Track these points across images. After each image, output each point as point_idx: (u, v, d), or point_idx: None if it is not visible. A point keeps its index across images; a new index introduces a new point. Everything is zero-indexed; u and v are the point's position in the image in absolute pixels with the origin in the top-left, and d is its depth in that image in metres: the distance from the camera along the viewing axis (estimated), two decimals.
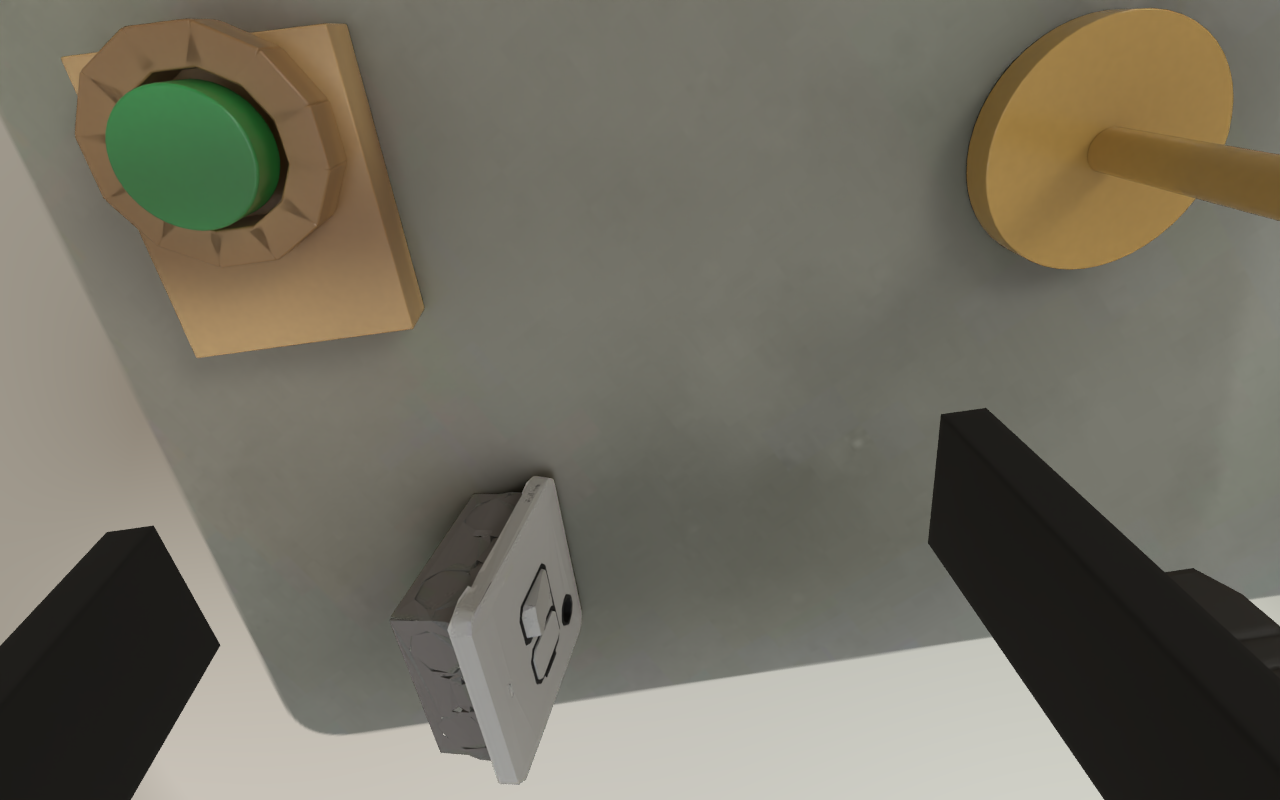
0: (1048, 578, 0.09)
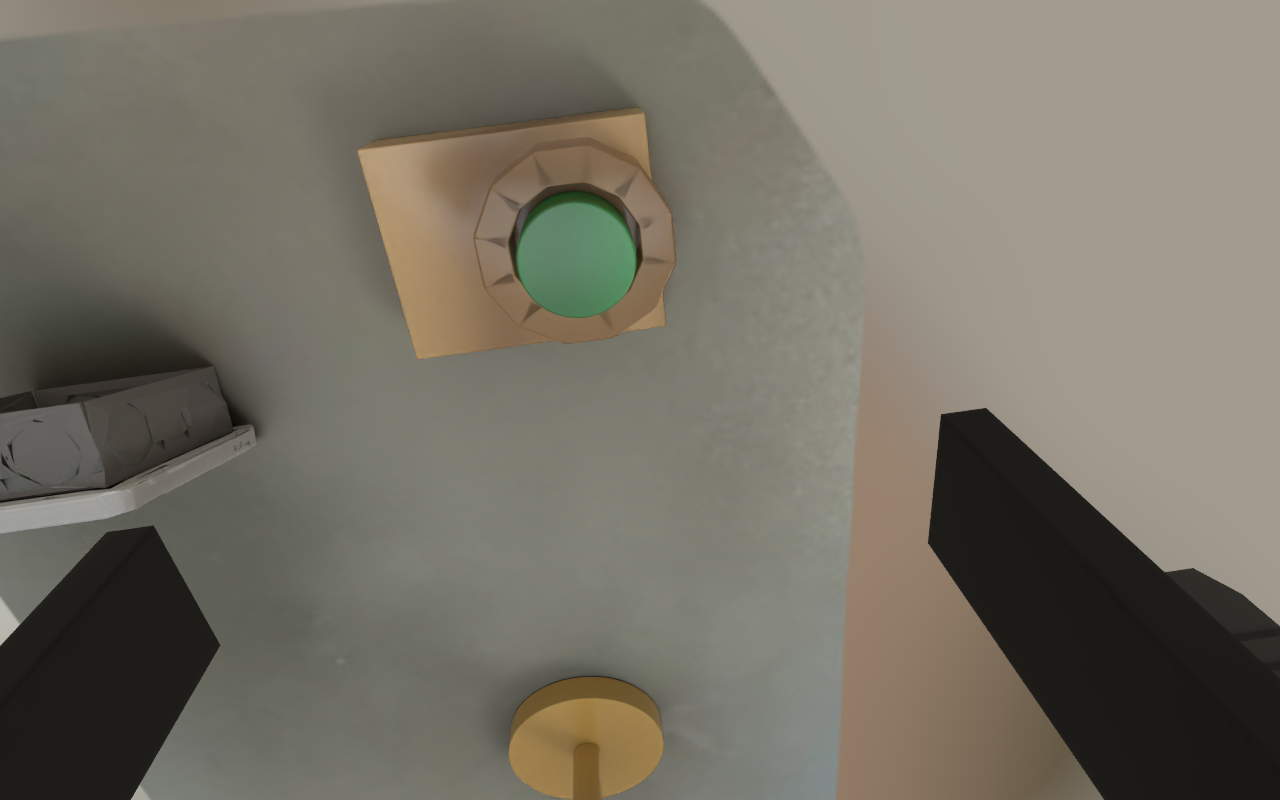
0: (1048, 578, 0.09)
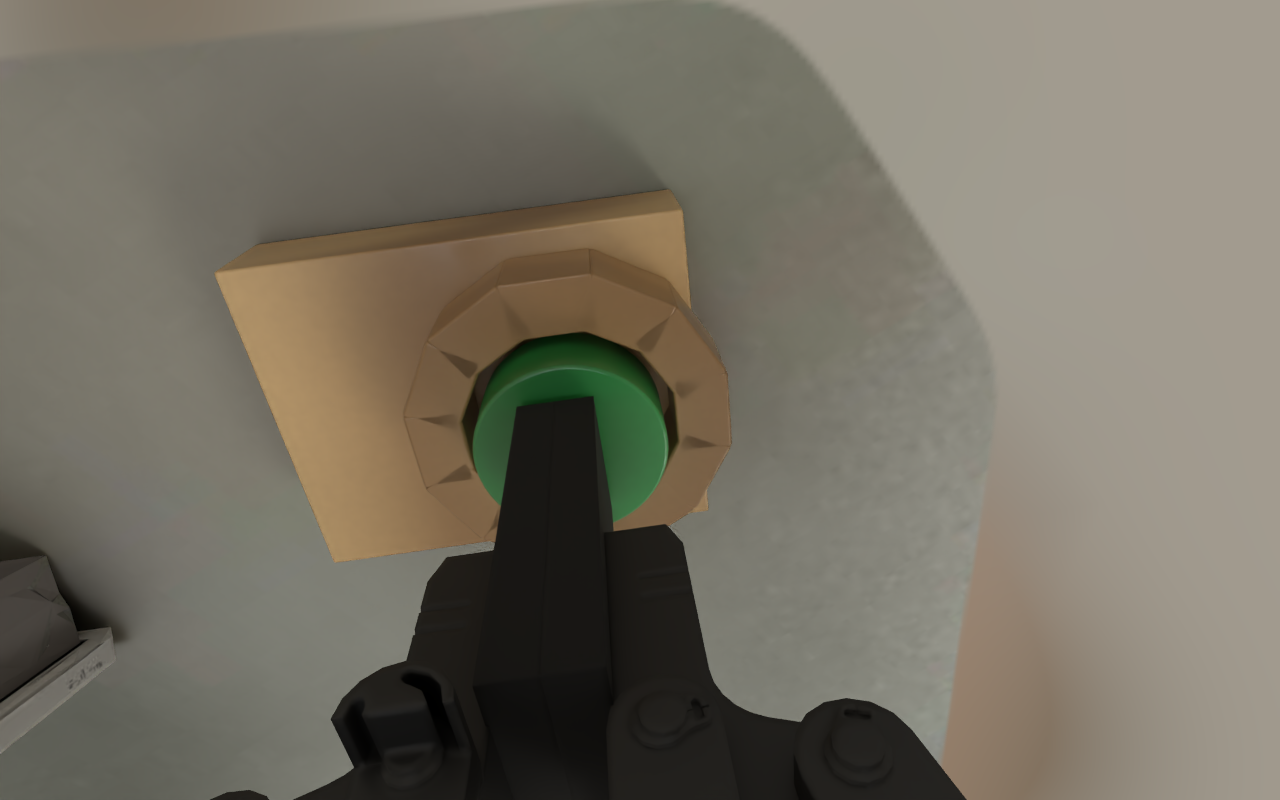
0: None
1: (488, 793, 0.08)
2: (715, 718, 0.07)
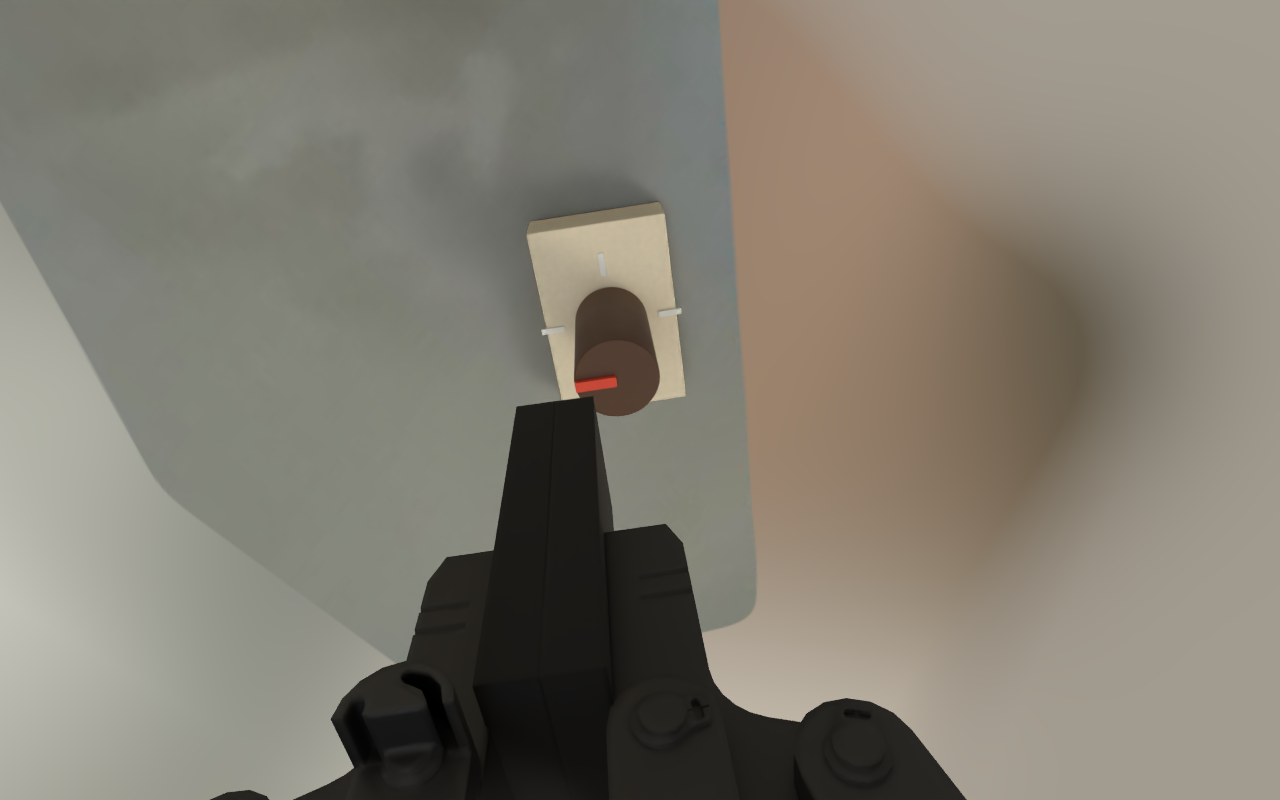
0: None
1: (488, 793, 0.08)
2: (715, 718, 0.07)
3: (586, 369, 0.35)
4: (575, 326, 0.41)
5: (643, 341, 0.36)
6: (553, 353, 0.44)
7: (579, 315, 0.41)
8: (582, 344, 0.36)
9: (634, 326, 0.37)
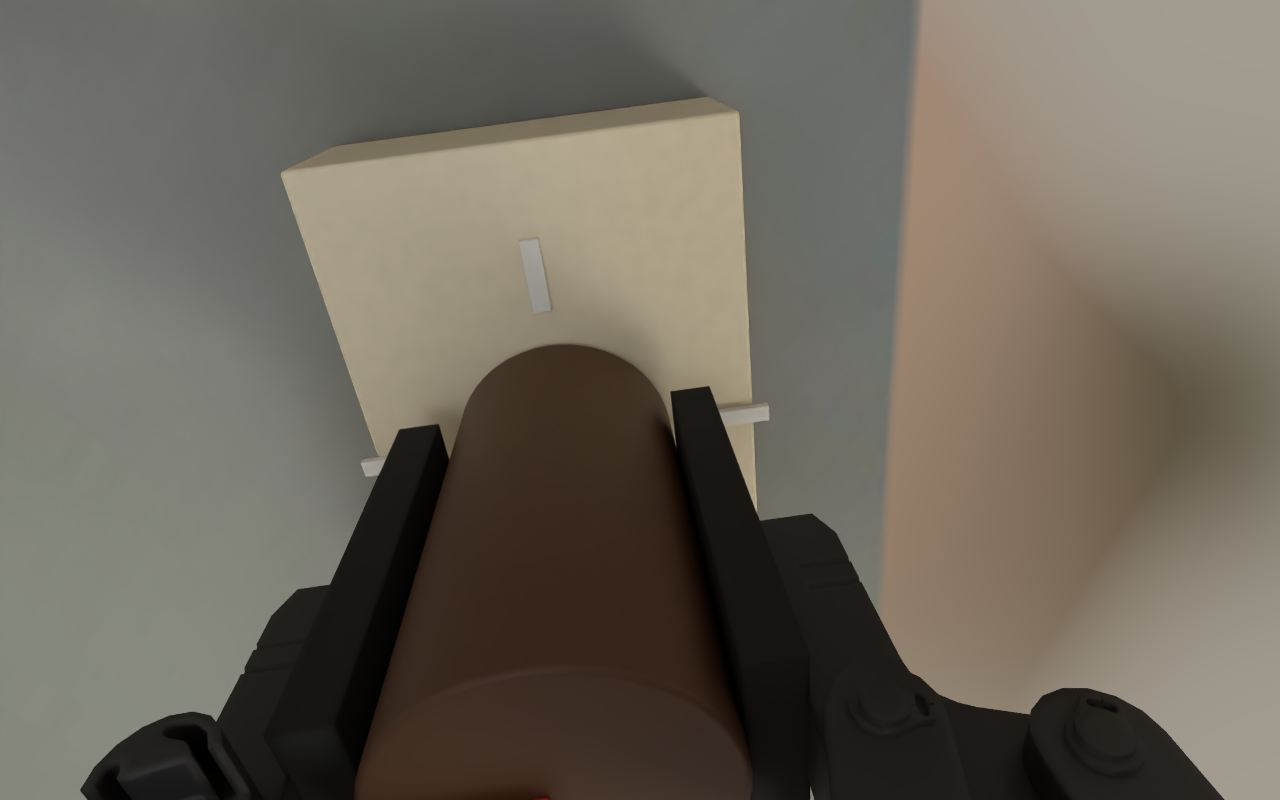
0: (698, 522, 0.11)
1: None
2: (940, 717, 0.07)
3: (408, 783, 0.07)
4: None
5: (681, 632, 0.08)
6: None
7: (458, 438, 0.13)
8: (410, 630, 0.08)
9: (640, 539, 0.09)
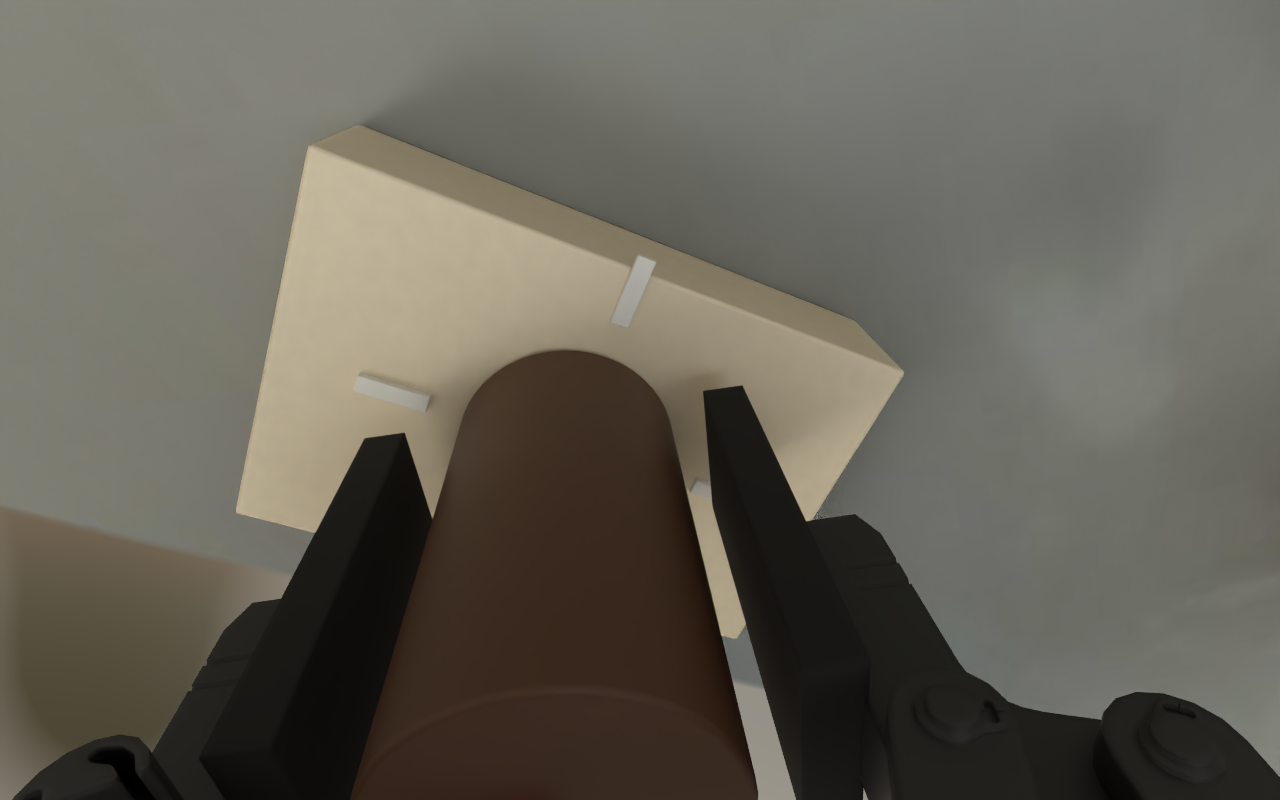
0: (739, 523, 0.11)
1: None
2: (1010, 726, 0.07)
3: None
4: None
5: (683, 649, 0.08)
6: (559, 246, 0.13)
7: (456, 446, 0.12)
8: (405, 646, 0.08)
9: (641, 553, 0.09)
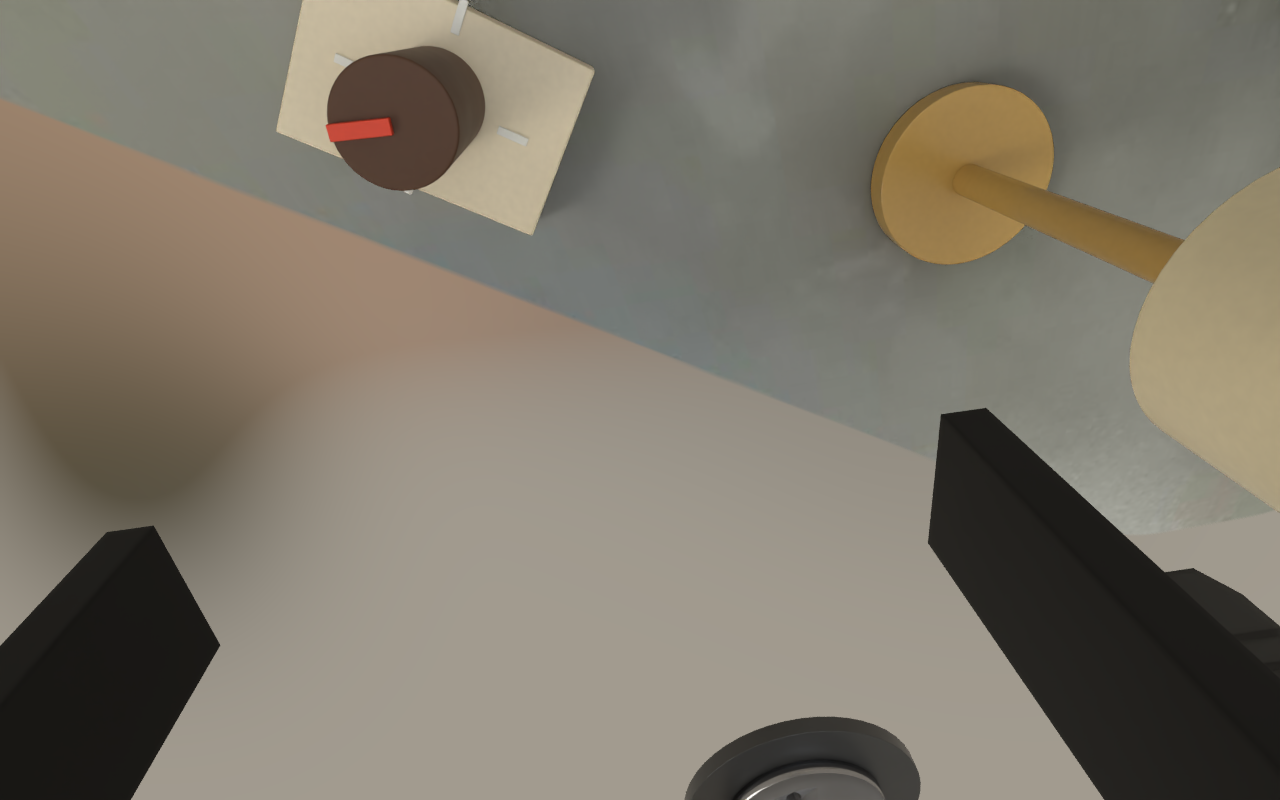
0: (1048, 578, 0.09)
1: None
2: None
3: (344, 104, 0.24)
4: None
5: (435, 71, 0.24)
6: None
7: None
8: None
9: (431, 60, 0.25)
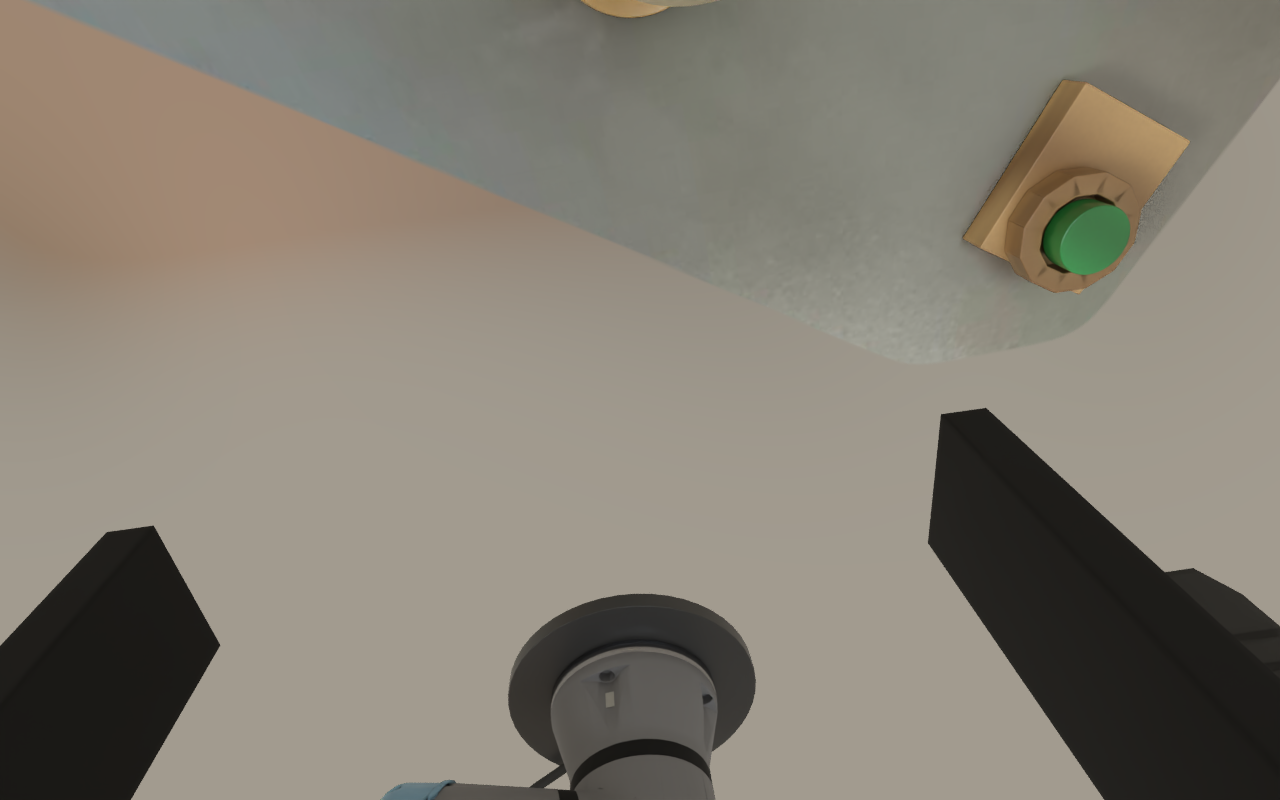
0: (1049, 578, 0.09)
1: None
2: None
3: None
4: None
5: None
6: None
7: None
8: None
9: None
